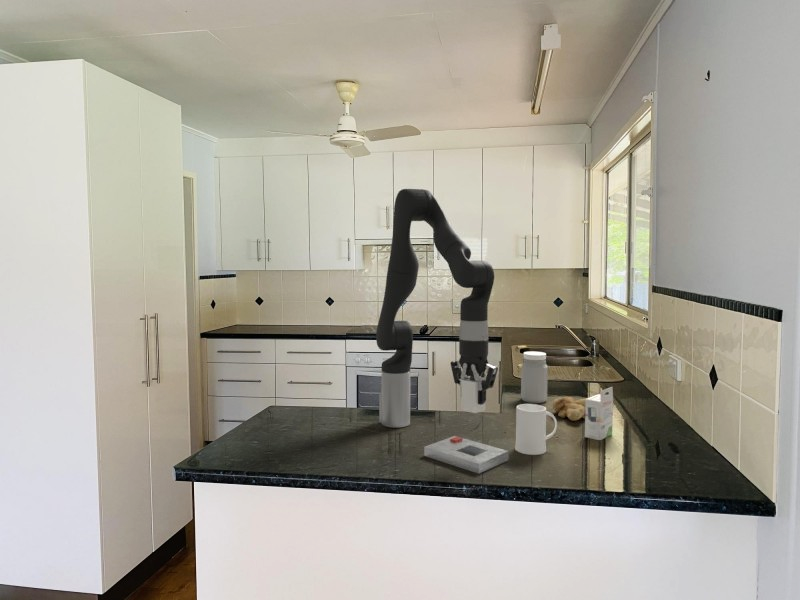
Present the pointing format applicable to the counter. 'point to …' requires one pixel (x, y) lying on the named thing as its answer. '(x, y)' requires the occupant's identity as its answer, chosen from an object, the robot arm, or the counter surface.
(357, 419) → the counter surface
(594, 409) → the ink box
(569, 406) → the ginger root
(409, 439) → the counter surface
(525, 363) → the jar
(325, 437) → the counter surface
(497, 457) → the socket plate
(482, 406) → the plug
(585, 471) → the counter surface
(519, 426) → the mug
